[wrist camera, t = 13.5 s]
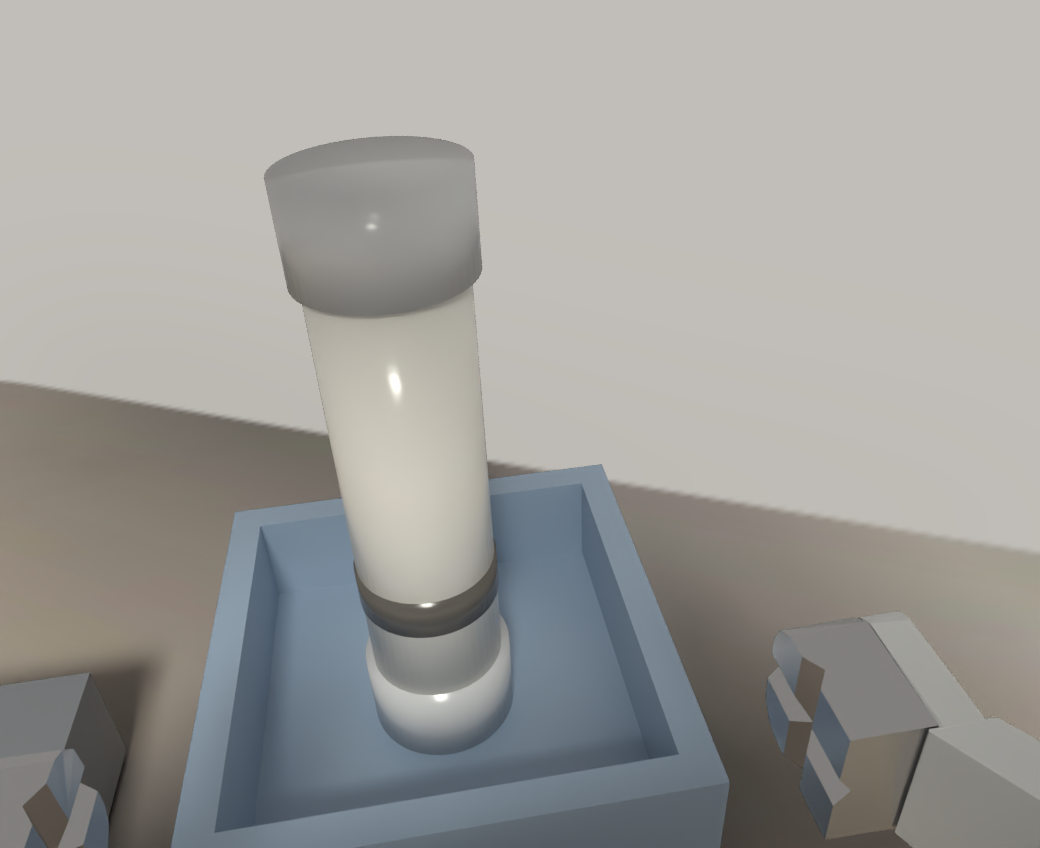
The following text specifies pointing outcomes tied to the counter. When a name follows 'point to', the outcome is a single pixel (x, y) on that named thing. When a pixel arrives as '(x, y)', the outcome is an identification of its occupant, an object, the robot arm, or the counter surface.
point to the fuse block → (63, 727)
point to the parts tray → (493, 763)
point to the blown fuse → (404, 418)
